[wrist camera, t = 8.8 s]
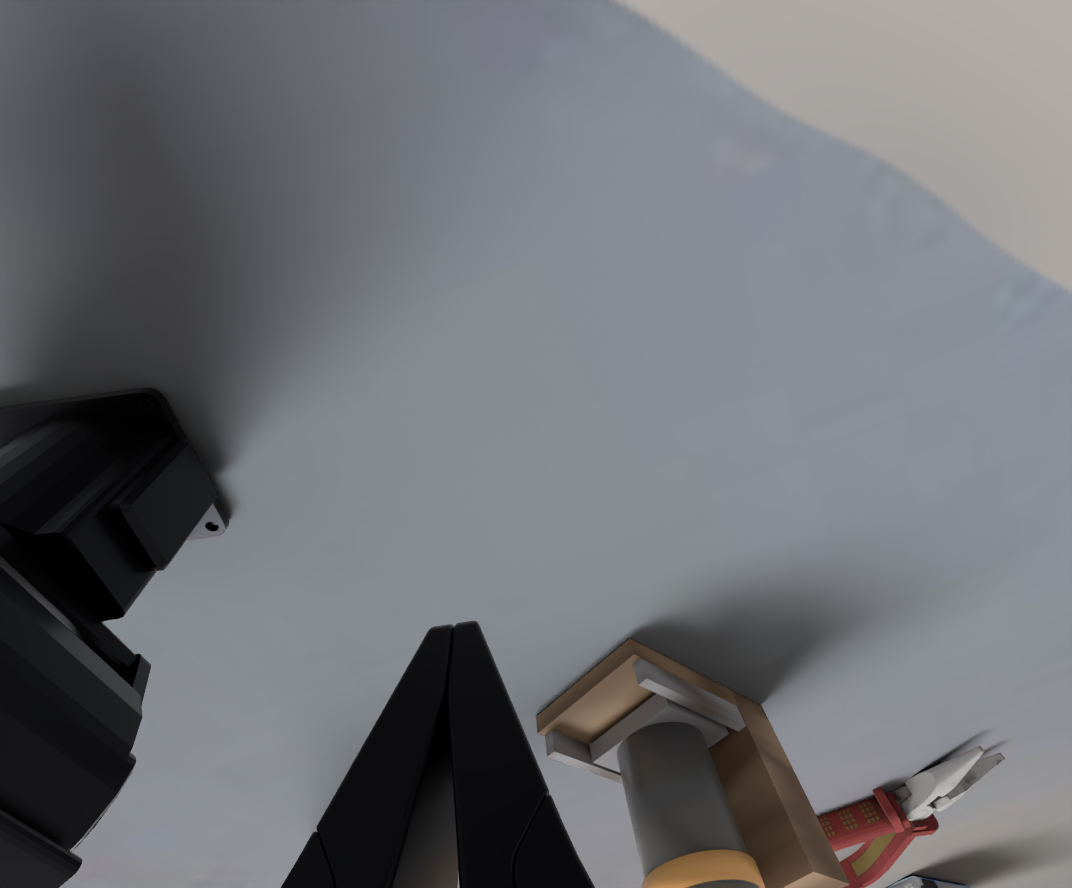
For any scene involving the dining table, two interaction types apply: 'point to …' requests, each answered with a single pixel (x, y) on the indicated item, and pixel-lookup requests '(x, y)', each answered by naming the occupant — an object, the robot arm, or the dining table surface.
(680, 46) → the dining table surface
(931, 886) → the label tape box
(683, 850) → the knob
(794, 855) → the mount
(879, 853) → the pliers
